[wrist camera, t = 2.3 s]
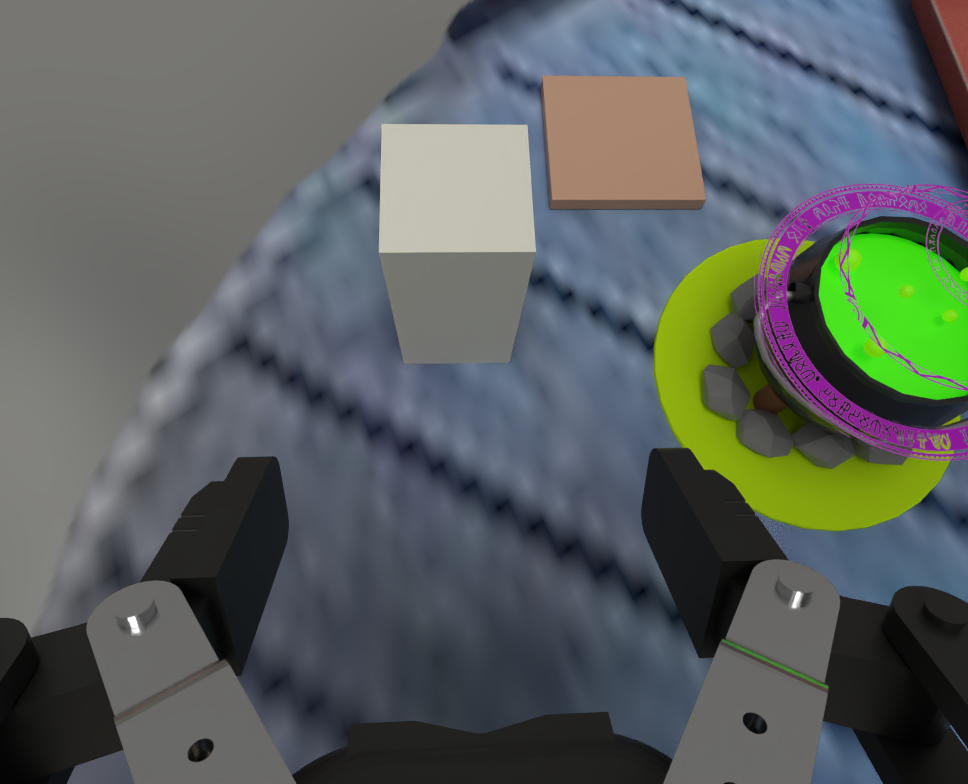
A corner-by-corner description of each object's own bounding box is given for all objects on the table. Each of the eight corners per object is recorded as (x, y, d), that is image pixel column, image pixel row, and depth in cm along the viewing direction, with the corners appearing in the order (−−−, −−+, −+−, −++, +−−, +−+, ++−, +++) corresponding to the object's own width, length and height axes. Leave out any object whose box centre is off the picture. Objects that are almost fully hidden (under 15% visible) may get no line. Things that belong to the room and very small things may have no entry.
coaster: (680, 88, 35) (685, 77, 34) (700, 209, 32) (706, 199, 31) (540, 87, 34) (542, 75, 33) (549, 209, 32) (552, 199, 31)
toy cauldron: (636, 498, 27) (748, 440, 17) (665, 217, 32) (767, 37, 22) (967, 561, 27) (1287, 542, 17) (948, 269, 32) (1188, 112, 21)
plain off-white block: (504, 266, 31) (527, 121, 21) (509, 362, 29) (536, 251, 20) (404, 267, 30) (381, 120, 21) (404, 364, 29) (378, 252, 19)
